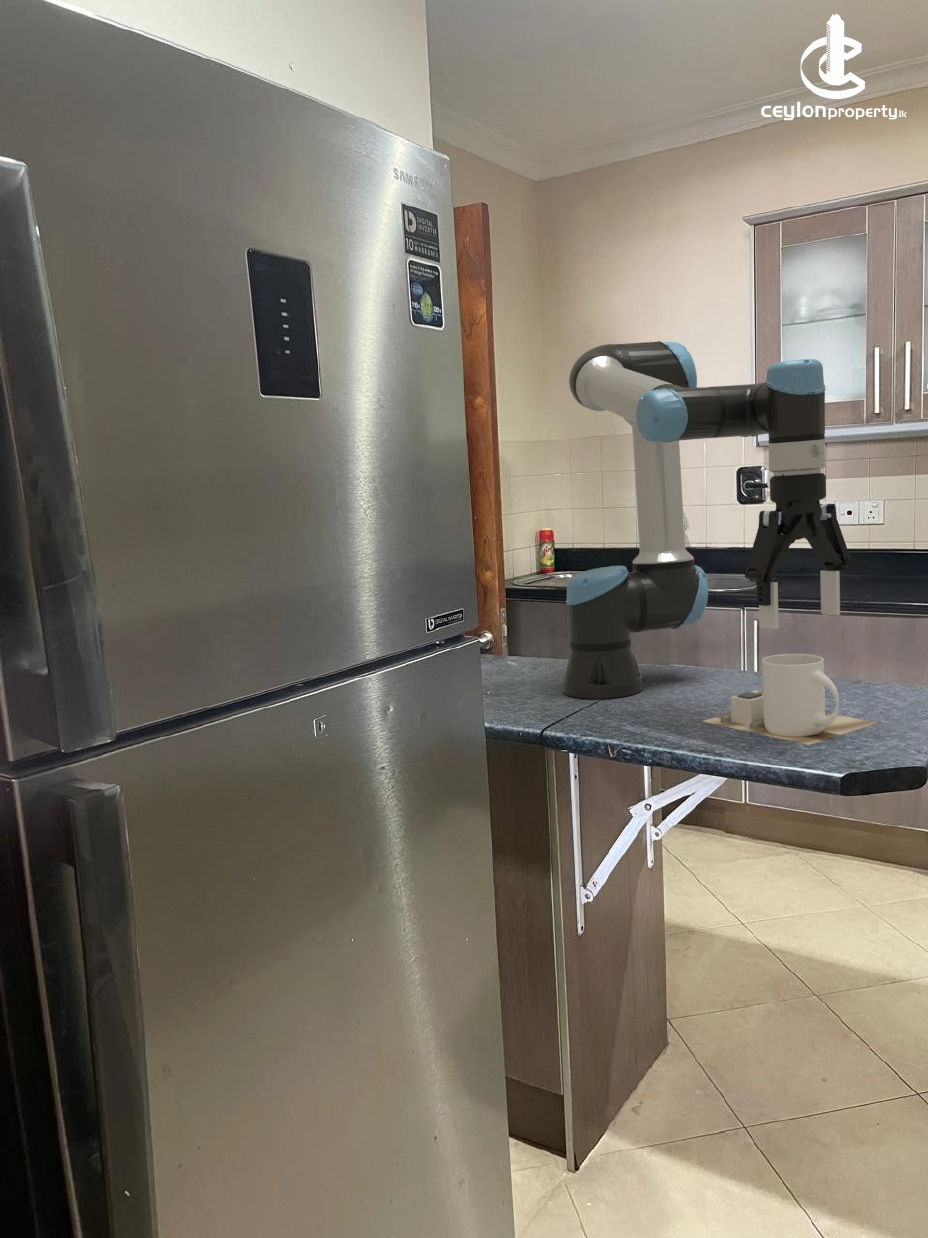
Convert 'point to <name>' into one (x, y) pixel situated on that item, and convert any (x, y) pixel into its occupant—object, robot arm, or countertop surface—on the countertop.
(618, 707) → the countertop surface
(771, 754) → the countertop surface
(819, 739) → the subfloor panel
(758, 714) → the block
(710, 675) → the countertop surface
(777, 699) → the mug
